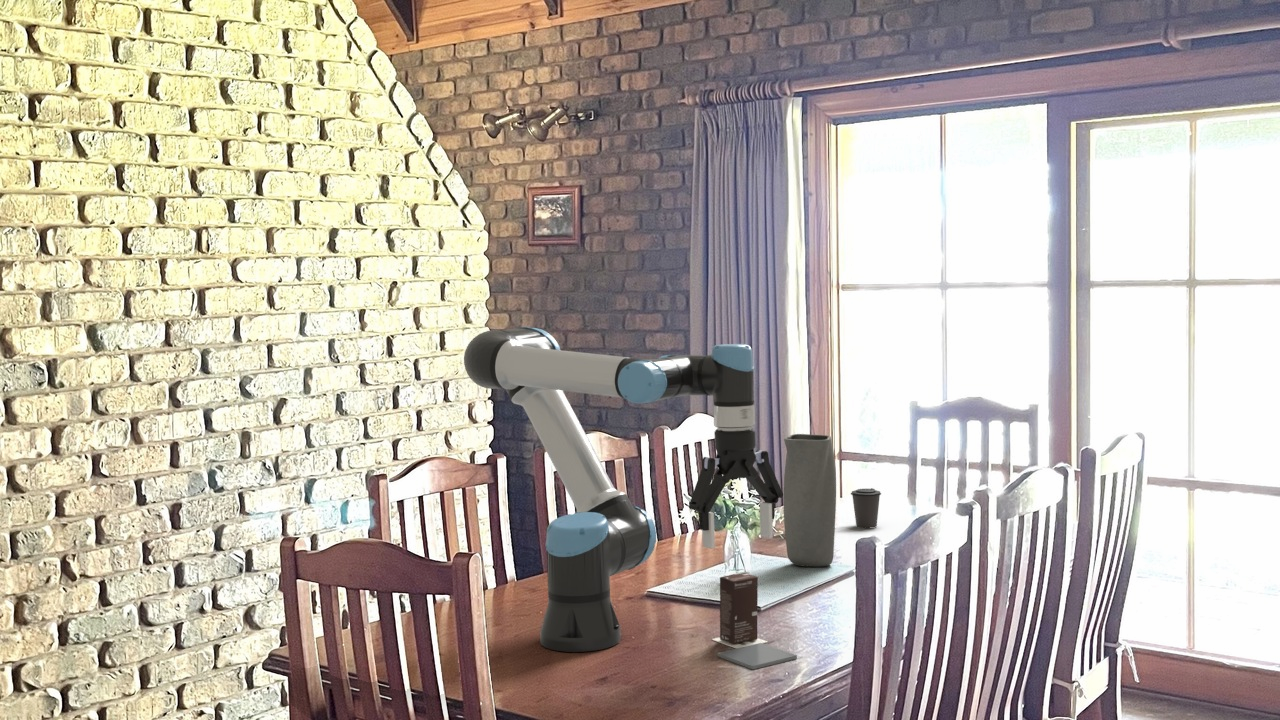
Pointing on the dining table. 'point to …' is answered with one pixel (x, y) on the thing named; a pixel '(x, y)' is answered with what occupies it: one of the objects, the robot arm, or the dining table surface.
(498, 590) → the dining table surface
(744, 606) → the box
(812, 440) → the vase
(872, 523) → the coffee cup
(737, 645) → the tile
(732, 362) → the robot arm
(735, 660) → the coaster
